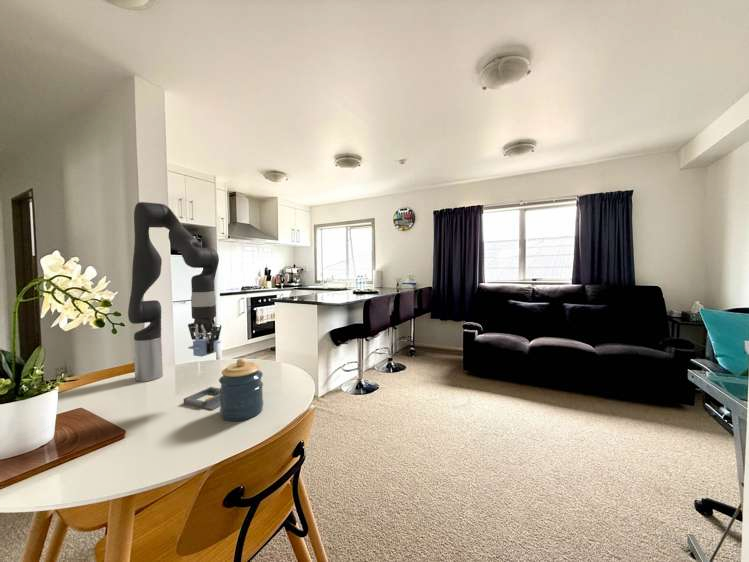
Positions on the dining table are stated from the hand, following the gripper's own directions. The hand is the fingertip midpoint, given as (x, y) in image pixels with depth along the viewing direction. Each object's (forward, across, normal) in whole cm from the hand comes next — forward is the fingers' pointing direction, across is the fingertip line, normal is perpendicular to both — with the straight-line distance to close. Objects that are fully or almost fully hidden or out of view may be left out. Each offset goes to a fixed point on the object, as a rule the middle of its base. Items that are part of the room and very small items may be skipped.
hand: (205, 352), depth 107 cm
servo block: (+1, 0, 0) cm, 1 cm away
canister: (+17, +19, -3) cm, 26 cm away
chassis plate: (+17, +2, 0) cm, 17 cm away
